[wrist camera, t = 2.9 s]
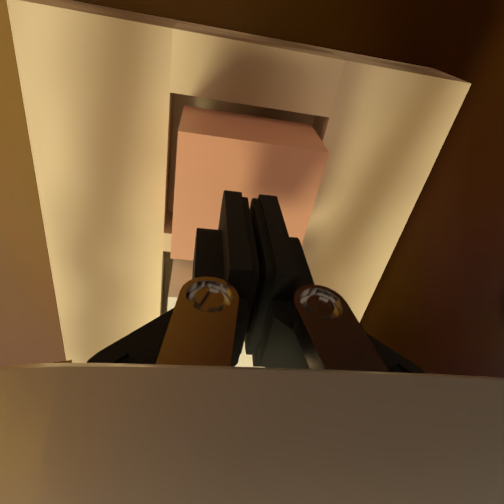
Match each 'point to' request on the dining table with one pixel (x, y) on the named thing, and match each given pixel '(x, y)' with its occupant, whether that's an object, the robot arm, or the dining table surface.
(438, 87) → the keypad base
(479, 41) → the dining table surface
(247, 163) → the terracotta key
